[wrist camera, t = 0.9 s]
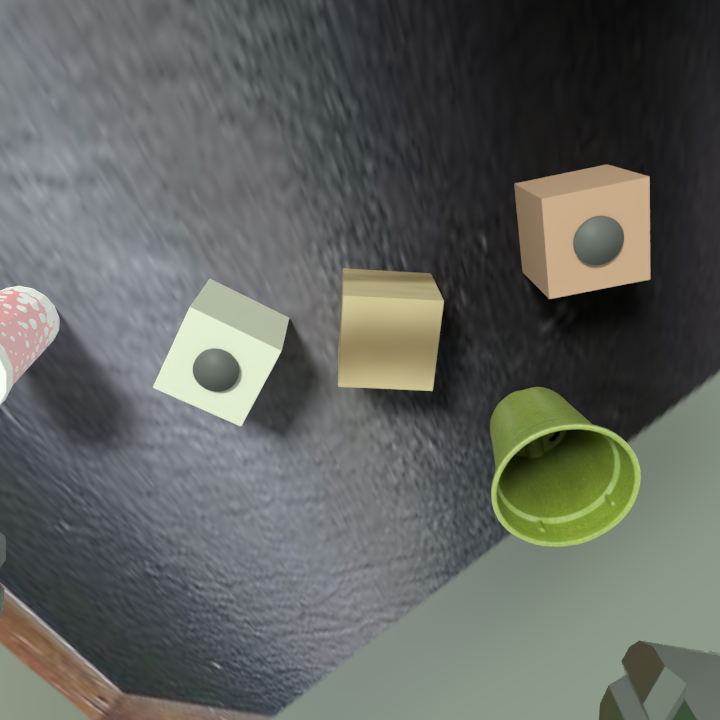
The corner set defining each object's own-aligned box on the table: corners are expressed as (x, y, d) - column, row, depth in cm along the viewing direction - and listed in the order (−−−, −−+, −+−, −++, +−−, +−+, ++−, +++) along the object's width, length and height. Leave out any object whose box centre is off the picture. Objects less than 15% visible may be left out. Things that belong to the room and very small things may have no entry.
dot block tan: (514, 183, 40) (543, 199, 34) (606, 164, 40) (651, 177, 34) (522, 271, 42) (551, 300, 37) (610, 254, 42) (652, 280, 36)
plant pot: (544, 490, 50) (583, 567, 42) (444, 445, 48) (464, 516, 40) (615, 398, 46) (671, 461, 39) (510, 345, 44) (547, 401, 37)
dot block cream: (209, 278, 42) (188, 308, 36) (289, 317, 43) (281, 352, 37) (176, 350, 44) (151, 389, 38) (253, 385, 45) (240, 428, 40)
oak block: (343, 268, 42) (343, 295, 36) (430, 273, 42) (444, 300, 37) (338, 349, 44) (338, 386, 39) (421, 353, 45) (432, 390, 39)
